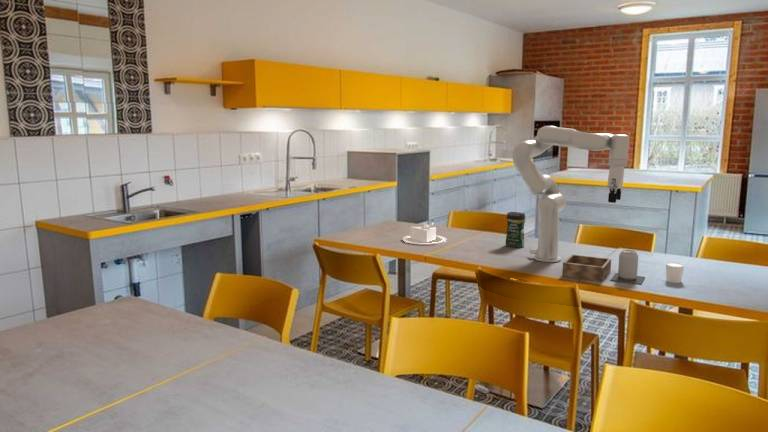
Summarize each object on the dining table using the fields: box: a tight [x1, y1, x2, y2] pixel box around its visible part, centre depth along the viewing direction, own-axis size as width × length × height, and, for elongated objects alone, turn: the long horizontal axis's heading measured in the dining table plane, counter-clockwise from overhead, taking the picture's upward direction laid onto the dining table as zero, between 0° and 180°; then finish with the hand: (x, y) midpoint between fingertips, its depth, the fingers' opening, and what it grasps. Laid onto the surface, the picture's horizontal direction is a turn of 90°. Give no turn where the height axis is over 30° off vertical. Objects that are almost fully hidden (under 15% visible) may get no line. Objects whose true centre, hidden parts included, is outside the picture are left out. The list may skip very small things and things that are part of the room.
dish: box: [401, 222, 447, 245], centre depth 321 cm, size 25×25×11 cm
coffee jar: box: [505, 211, 526, 248], centre depth 305 cm, size 10×8×19 cm
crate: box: [561, 254, 612, 282], centre depth 252 cm, size 17×17×6 cm
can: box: [617, 249, 639, 280], centre depth 243 cm, size 8×8×12 cm
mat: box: [610, 272, 646, 286], centre depth 244 cm, size 12×12×1 cm
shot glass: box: [665, 262, 685, 284], centre depth 240 cm, size 7×7×7 cm
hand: (614, 200), depth 255 cm, fingers open, 9 cm apart
